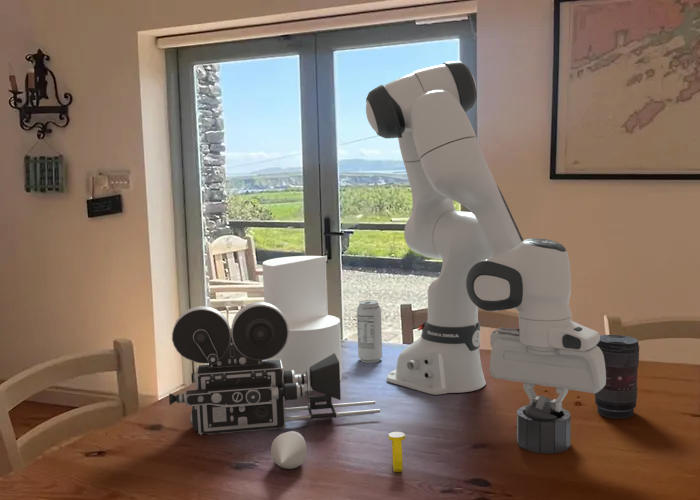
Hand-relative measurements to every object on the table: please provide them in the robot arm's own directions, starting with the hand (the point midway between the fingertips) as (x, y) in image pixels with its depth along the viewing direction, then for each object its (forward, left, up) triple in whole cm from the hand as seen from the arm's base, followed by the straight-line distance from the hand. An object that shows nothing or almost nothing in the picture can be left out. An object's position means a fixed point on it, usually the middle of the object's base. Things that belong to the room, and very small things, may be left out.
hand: (545, 409), depth 131 cm
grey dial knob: (-1, -1, -2) cm, 3 cm away
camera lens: (+5, +22, -7) cm, 24 cm away
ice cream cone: (-32, -33, -7) cm, 46 cm away
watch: (-17, -23, -7) cm, 29 cm away
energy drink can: (-58, +28, -7) cm, 64 cm away
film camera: (-48, -18, -7) cm, 51 cm away
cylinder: (-62, +7, -7) cm, 62 cm away
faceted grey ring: (-1, 0, -7) cm, 7 cm away
